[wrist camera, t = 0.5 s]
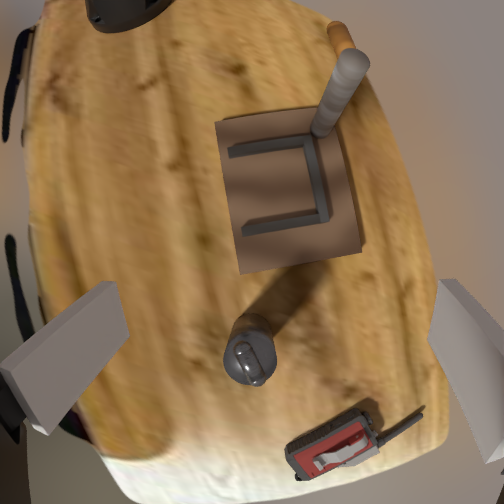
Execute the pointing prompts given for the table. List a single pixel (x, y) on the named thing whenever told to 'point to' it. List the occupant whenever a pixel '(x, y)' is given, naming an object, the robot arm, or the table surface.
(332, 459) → the walkie-talkie
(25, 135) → the table surface
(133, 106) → the table surface
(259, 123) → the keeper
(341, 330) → the table surface
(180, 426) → the table surface
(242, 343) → the grey metal canister
